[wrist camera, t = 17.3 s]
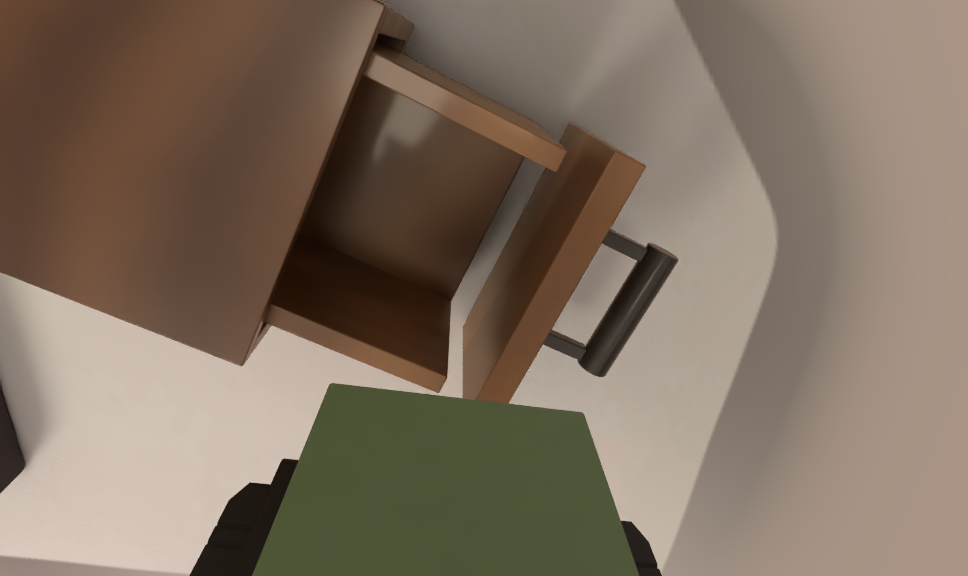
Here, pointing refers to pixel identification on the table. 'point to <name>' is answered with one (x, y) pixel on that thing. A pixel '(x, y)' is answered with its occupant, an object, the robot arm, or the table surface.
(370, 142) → the drawer
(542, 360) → the table surface
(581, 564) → the block
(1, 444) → the calculator
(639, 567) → the robot arm
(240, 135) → the cabinet
